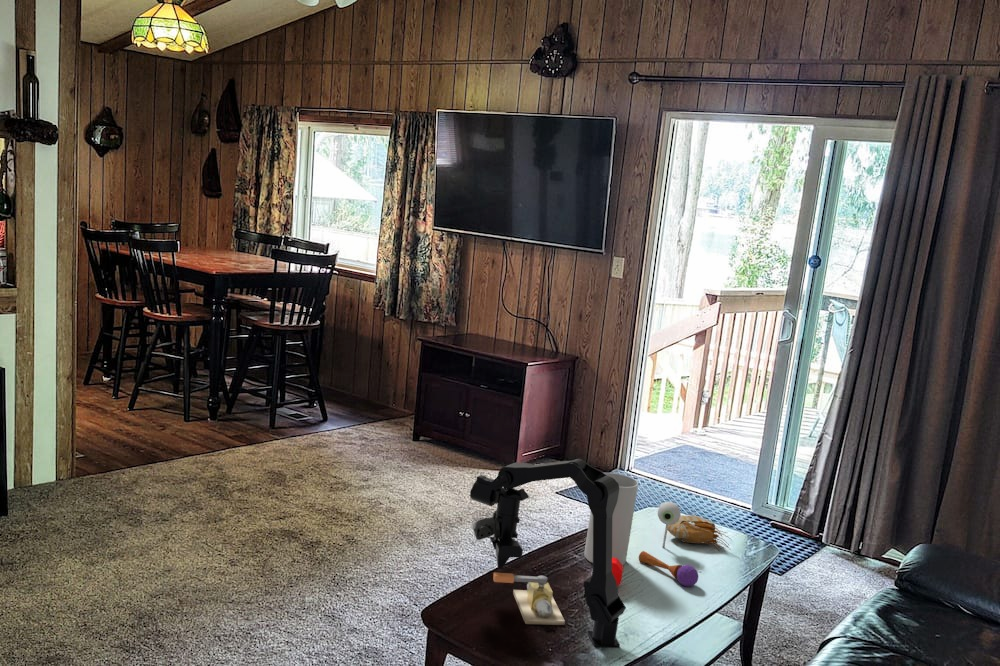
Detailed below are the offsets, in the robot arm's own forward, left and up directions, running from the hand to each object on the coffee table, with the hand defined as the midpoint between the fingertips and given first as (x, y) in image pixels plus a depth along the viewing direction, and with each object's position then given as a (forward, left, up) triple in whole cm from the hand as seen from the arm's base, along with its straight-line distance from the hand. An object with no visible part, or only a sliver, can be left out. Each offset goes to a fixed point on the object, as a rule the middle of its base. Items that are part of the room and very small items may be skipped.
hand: (499, 568), depth 224 cm
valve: (-6, -10, -8) cm, 14 cm away
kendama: (+17, -55, -8) cm, 58 cm away
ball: (+9, -33, -8) cm, 35 cm away
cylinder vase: (+26, -38, -8) cm, 47 cm away
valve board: (-6, -10, -8) cm, 14 cm away
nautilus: (+42, -75, -8) cm, 86 cm away
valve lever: (-6, -4, -1) cm, 7 cm away
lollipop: (+37, -61, -8) cm, 72 cm away
